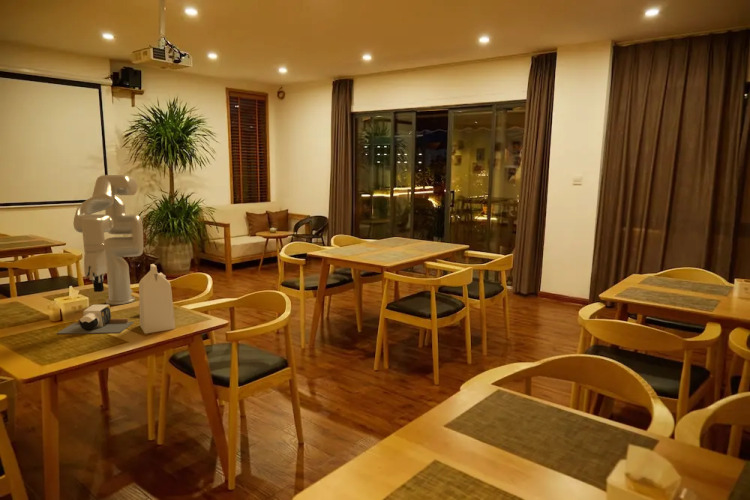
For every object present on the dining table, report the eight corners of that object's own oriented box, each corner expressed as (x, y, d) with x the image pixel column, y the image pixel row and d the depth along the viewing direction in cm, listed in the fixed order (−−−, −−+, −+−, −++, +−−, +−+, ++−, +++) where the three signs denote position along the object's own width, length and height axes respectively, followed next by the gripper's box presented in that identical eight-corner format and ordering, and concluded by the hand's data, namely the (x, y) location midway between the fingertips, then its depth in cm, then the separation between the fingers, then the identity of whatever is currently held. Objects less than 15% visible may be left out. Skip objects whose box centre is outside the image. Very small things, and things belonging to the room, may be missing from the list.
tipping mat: (74, 323, 206) (74, 319, 206) (133, 322, 208) (133, 318, 208) (56, 334, 193) (56, 329, 193) (119, 333, 195) (119, 328, 195)
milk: (140, 325, 205) (135, 264, 201) (169, 320, 211) (165, 261, 207) (144, 333, 195) (140, 269, 191) (175, 328, 201) (171, 266, 197)
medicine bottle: (112, 320, 208) (96, 332, 196) (95, 319, 208) (78, 332, 196) (109, 304, 206) (93, 316, 194) (92, 304, 206) (75, 315, 194)
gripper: (94, 244, 207) (98, 286, 210) (75, 251, 192) (80, 296, 196) (112, 244, 207) (116, 286, 211) (95, 251, 193) (99, 296, 196)
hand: (99, 291), depth 203 cm, fingers closed
